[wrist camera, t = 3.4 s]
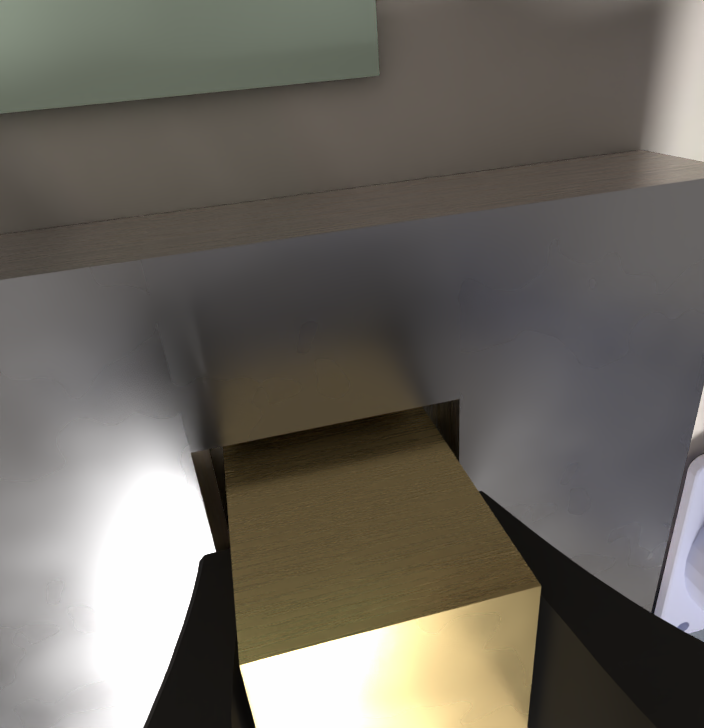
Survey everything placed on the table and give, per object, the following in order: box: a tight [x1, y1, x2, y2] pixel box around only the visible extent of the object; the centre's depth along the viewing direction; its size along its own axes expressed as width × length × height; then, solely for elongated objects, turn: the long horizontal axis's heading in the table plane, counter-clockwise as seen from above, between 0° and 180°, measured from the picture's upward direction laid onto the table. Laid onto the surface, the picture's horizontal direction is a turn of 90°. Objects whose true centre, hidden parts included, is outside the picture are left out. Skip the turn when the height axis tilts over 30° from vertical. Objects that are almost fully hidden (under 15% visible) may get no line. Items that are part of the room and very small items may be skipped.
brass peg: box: [223, 407, 541, 728], centre depth 11 cm, size 4×4×7 cm
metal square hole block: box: [0, 150, 704, 728], centre depth 13 cm, size 16×12×3 cm
